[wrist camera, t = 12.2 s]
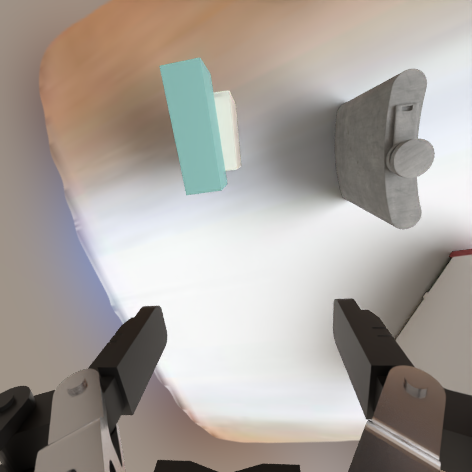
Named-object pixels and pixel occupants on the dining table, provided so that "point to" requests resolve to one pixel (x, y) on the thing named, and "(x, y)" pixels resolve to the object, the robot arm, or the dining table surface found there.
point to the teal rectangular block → (195, 125)
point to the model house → (444, 327)
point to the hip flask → (384, 149)
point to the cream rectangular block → (228, 129)
